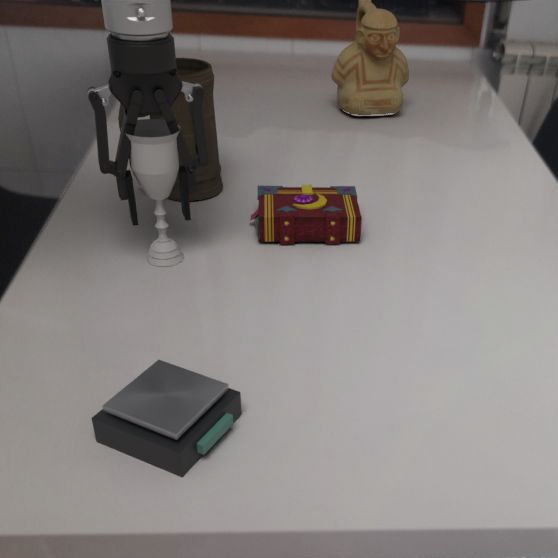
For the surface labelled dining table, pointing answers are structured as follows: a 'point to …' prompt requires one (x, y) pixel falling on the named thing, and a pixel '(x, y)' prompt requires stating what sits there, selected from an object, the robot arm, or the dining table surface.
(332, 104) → the dining table surface
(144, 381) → the scale pan
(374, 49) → the ceramic vessel
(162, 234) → the chalice
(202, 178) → the beer stein
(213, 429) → the scale
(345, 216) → the decorative book
